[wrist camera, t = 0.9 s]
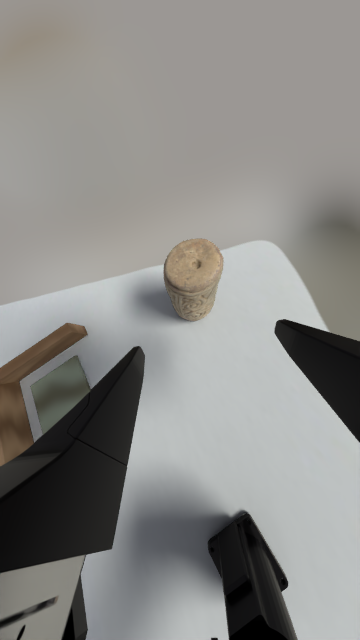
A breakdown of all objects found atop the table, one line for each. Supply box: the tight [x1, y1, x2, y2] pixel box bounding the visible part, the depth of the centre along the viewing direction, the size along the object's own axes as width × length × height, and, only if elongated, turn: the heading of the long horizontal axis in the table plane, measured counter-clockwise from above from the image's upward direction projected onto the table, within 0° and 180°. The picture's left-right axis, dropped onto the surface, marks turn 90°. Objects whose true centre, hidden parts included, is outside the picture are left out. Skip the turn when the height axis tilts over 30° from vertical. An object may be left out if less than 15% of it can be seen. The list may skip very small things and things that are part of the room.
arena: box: [0, 323, 91, 466], centre depth 22 cm, size 19×18×4 cm
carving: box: [164, 239, 223, 321], centre depth 18 cm, size 6×8×12 cm
